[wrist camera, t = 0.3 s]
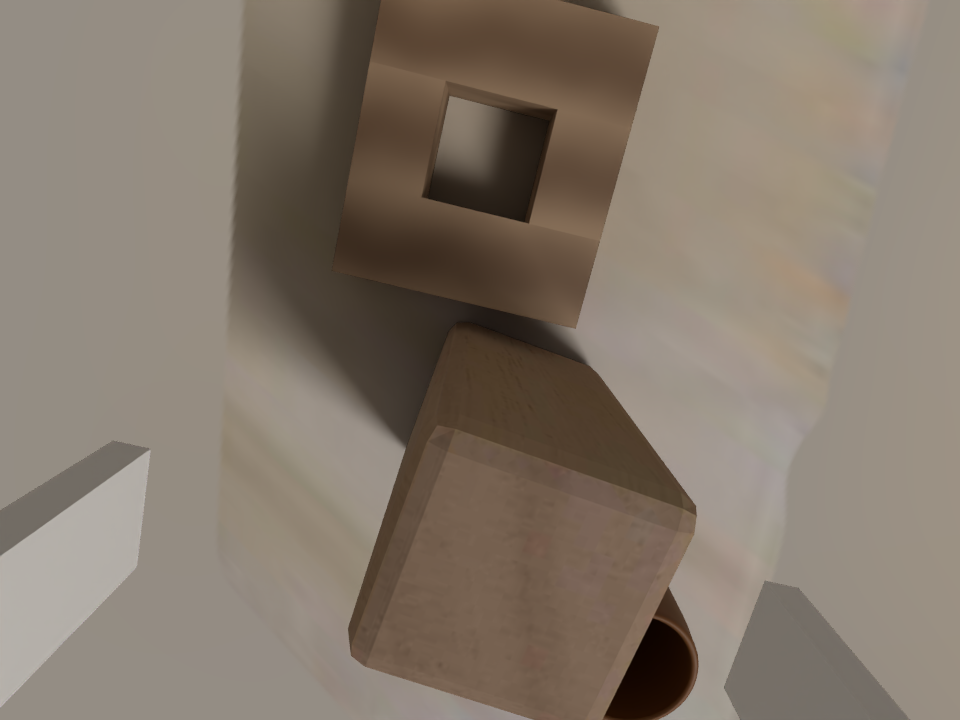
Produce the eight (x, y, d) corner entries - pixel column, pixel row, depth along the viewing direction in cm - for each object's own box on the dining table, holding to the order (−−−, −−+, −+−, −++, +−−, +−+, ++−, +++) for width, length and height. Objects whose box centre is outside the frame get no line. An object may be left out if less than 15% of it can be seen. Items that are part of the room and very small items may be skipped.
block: (403, 454, 41) (333, 670, 21) (454, 314, 39) (428, 413, 19) (543, 502, 42) (598, 753, 22) (601, 367, 40) (718, 515, 20)
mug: (645, 675, 45) (687, 794, 36) (540, 673, 45) (555, 791, 36) (659, 524, 42) (709, 610, 33) (547, 522, 42) (566, 608, 33)
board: (399, -16, 35) (388, -45, 31) (639, 47, 35) (659, 26, 31) (346, 265, 38) (331, 270, 34) (566, 317, 39) (575, 328, 35)
